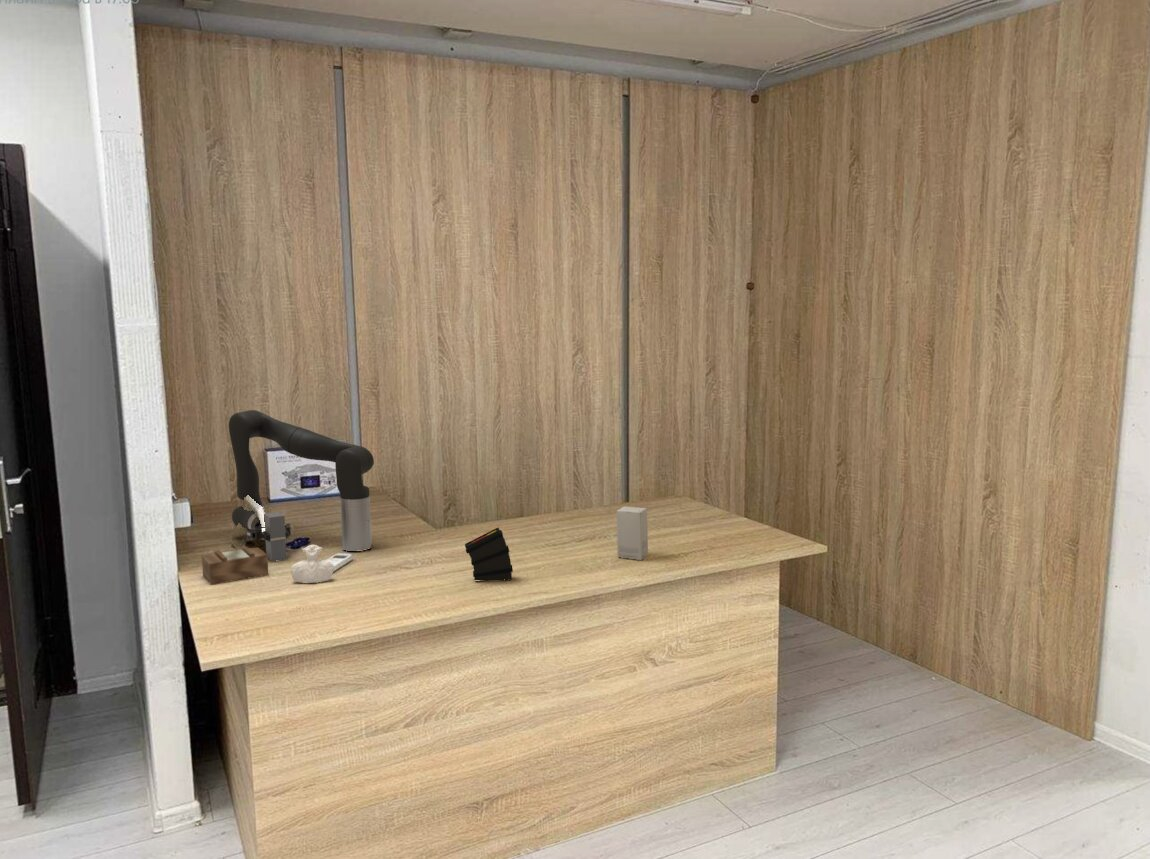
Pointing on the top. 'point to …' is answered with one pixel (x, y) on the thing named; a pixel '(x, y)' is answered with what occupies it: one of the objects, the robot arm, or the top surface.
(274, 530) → the stacked grey cubes
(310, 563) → the tied plastic bag
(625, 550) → the skincare box
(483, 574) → the magazine
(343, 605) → the top surface
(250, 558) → the stand
